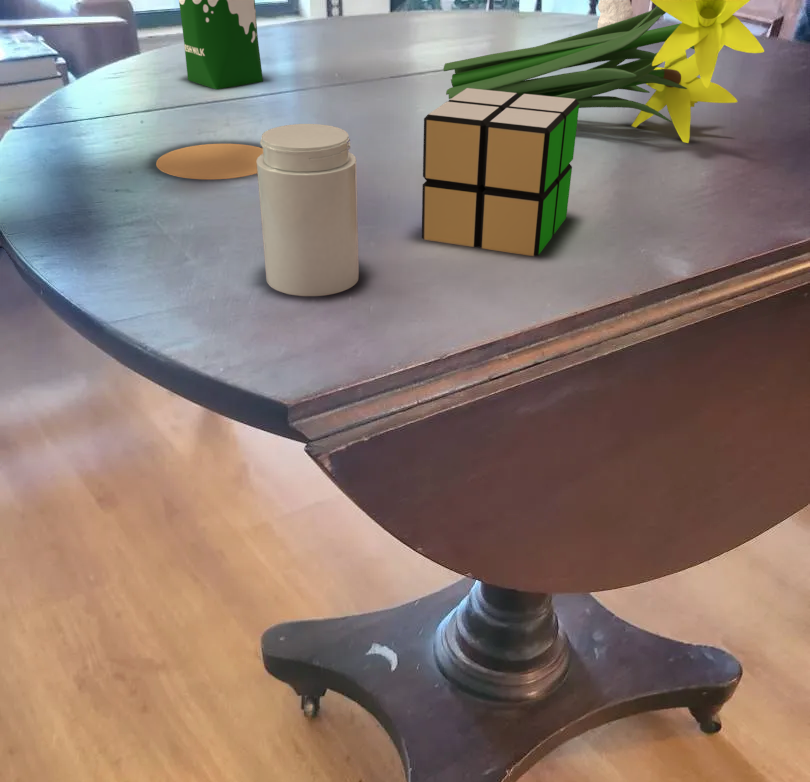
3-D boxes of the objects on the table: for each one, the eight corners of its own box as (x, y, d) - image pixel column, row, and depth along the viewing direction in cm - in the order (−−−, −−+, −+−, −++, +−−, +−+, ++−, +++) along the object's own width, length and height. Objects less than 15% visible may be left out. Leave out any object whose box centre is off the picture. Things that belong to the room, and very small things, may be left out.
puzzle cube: (459, 205, 85) (464, 86, 79) (566, 220, 82) (581, 98, 76) (420, 243, 78) (422, 114, 72) (536, 261, 75) (549, 129, 69)
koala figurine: (586, 40, 147) (596, -50, 140) (629, 42, 146) (642, -49, 138) (582, 50, 140) (592, -43, 133) (627, 53, 139) (641, -41, 132)
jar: (253, 295, 69) (239, 145, 63) (283, 260, 75) (273, 118, 68) (345, 305, 68) (340, 153, 62) (368, 268, 73) (366, 125, 67)
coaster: (136, 177, 91) (135, 173, 90) (185, 143, 100) (184, 139, 100) (253, 187, 89) (253, 183, 88) (292, 152, 98) (292, 148, 98)
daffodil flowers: (483, 106, 117) (785, 44, 102) (467, 200, 112) (782, 149, 97) (434, -12, 103) (776, -104, 88) (413, 89, 98) (772, 9, 83)
